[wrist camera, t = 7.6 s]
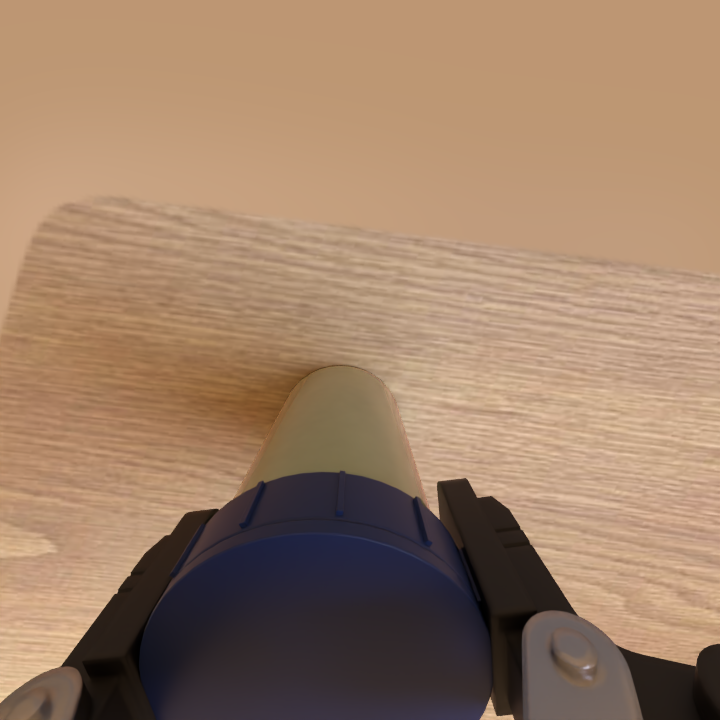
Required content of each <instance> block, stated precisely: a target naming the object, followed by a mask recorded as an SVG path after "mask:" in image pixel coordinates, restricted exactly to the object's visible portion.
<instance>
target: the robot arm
mask: <svg viewBox="0 0 720 720" xmlns="http://www.w3.org/2000/svg"><path fill="white" fill-rule="evenodd" d="M437 491H438V503H439V514H440V521H441V522H442V523H443V525H444V526H445V528H446V529H447V530H448V532H449V533H450V534H451V536H452V538H453V540H454V542H455V544H456V545H457V547H458V549H462V552H463V555H464V557H465V560H466V562H467V565H468V568H469V570H470V573H471V576H472V578H473V581H474V583H475V586H476V589H477V591H478V594H479V596H480V599H481V605H480V608H481V611H482V613H483V616H484V619H485V621H486V624H487V627H488V630H489V633H490V638H491V654H492V673H493V687H492V692H491V696H490V697H491V700H492V703H493V706H494V709H495V712H496V716H503V715H512V714H513V717H514V720H720V644H715V645H711V646H708V647H706V648H704V649H703V650H702V651H701V652H700V654H699V656H698V658H697V664H696V666H691V665H687V664H682V663H678V662H673V661H669V660H664V659H659V658H655V657H650V656H646V655H642V654H638V653H635V652H631V651H629V650H626V649H624V648H621V647H619V646H617V645H615V644H614V643H613V641H612V640H611V639H610V638H609V637H608V636H607V635H606V634H605V633H604V632H602V631H601V630H600V629H599V628H597V627H596V626H595V625H593V624H592V623H590V622H588V621H587V620H585V619H583V618H581V617H579V616H578V615H577V614H576V612H575V611H574V610H573V608H572V607H571V605H570V604H569V602H568V600H567V599H566V597H565V596H564V594H563V593H562V591H561V590H560V588H559V586H558V585H557V583H556V582H555V580H554V579H553V577H552V576H551V574H550V572H549V571H548V569H547V568H546V566H545V565H544V563H543V562H542V560H541V559H540V557H539V555H538V554H537V552H536V551H535V549H534V548H533V546H532V545H530V542H529V540H528V538H527V537H526V535H525V534H524V532H523V531H522V530H521V529H520V526H519V524H518V523H517V521H516V520H515V518H514V517H513V515H512V513H511V512H510V510H509V509H508V508H506V507H505V506H504V505H502V504H501V503H500V502H498V501H497V500H496V499H495V498H493V497H492V496H489V497H481V498H477V497H476V495H475V493H474V491H473V489H472V487H471V485H470V483H469V482H468V480H467V479H466V478H463V479H455V480H447V481H439V482H438V483H437ZM218 511H219V510H218V509H209V510H201V511H193V512H188V513H186V514H185V515H184V516H183V518H182V519H181V520H180V522H179V523H178V525H177V526H176V528H175V529H174V530H173V532H172V533H171V535H167V536H165V537H163V538H162V539H161V540H160V541H159V542H158V543H156V544H155V545H154V546H153V547H152V548H151V549H150V550H148V551H147V552H146V553H145V554H144V556H143V557H142V558H141V560H140V561H139V562H138V564H137V565H136V566H135V568H134V569H133V570H132V572H131V576H129V577H127V578H126V580H125V581H124V582H123V584H122V585H121V587H120V588H119V589H118V593H117V594H115V595H114V596H113V597H112V599H111V600H110V601H109V603H108V604H107V605H106V607H105V608H104V609H103V611H102V612H101V613H100V615H99V616H98V617H97V619H96V620H95V621H94V623H93V624H92V625H91V627H90V628H89V629H88V631H87V632H86V633H85V635H84V636H83V638H82V639H81V640H80V642H79V643H78V644H77V646H76V647H75V648H74V650H73V651H72V652H71V654H70V655H69V656H68V658H67V659H66V660H65V662H64V663H63V664H62V666H61V667H59V668H55V669H52V670H49V671H47V672H44V673H42V674H40V675H38V676H36V677H35V678H33V679H31V680H30V681H28V682H27V683H25V684H24V685H22V686H21V687H19V688H18V689H17V690H15V691H14V692H13V693H12V694H10V695H9V696H8V697H7V698H6V699H4V700H3V701H2V702H1V703H0V720H156V718H155V715H154V713H153V710H152V708H151V705H150V703H149V700H148V698H147V695H146V693H145V690H144V688H143V685H142V682H141V679H140V671H139V657H140V647H141V642H142V638H143V634H144V630H145V627H146V625H147V623H148V620H149V618H150V616H151V613H152V612H153V610H154V608H155V607H156V605H157V603H158V602H159V600H160V599H161V597H162V595H163V593H164V592H165V590H166V588H167V587H168V585H169V584H170V582H171V580H172V579H173V578H172V577H171V576H169V575H170V573H171V571H172V570H173V568H174V567H175V565H176V563H177V562H178V560H179V558H180V557H181V555H182V554H183V552H184V550H185V549H186V547H187V546H188V544H189V542H190V541H191V539H192V538H193V536H194V534H195V533H196V531H197V529H198V528H199V526H200V525H201V524H202V523H203V524H204V525H206V524H207V523H208V522H209V521H210V519H211V518H212V517H213V516H214V515H215V514H216V513H217V512H218Z"/></svg>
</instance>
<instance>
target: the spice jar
mask: <svg viewBox="0 0 720 720" xmlns="http://www.w3.org/2000/svg"><path fill="white" fill-rule="evenodd" d="M340 470H341V471H345V473H347V474H353V475H359V476H364V477H367V478H371V479H374V480H378V481H381V482H383V483H386V484H388V485H391V486H393V487H395V488H398V489H400V490H401V491H403V492H405V493H406V494H408V495H410V496H412V497H413V498H415V497H416V496H417V497H418V498H420V499H421V503H422V504H423V505H424V506H425V507H426V508H428V509H429V505H428V502H427V499H426V496H425V492H424V489H423V486H422V483H421V480H420V476H419V473H418V470H417V467H416V464H415V460H414V457H413V454H412V451H411V448H410V444H409V441H408V438H407V435H406V431H405V428H404V425H403V422H402V419H401V415H400V412H399V409H398V406H397V403H396V400H395V398H394V396H393V394H392V393H391V391H390V390H389V388H388V387H387V386H386V385H385V384H384V383H383V382H382V381H381V380H380V379H379V378H377V377H376V376H374V375H373V374H371V373H369V372H367V371H365V370H362V369H359V368H356V367H350V366H331V367H326V368H323V369H320V370H317V371H315V372H313V373H311V374H309V375H308V376H306V377H304V378H303V379H302V380H301V381H300V382H299V383H298V384H297V385H296V386H295V387H294V388H293V390H292V391H291V393H290V394H289V396H288V398H287V400H286V402H285V403H284V405H283V407H282V409H281V411H280V413H279V415H278V417H277V418H276V420H275V422H274V424H273V426H272V428H271V430H270V431H269V433H268V435H267V437H266V439H265V441H264V443H263V444H262V446H261V448H260V450H259V452H258V454H257V456H256V457H255V459H254V461H253V463H252V465H251V467H250V469H249V470H248V472H247V474H246V476H245V478H244V480H243V482H242V483H241V485H240V487H239V489H238V491H237V493H236V495H235V496H234V498H236V497H238V496H239V495H241V494H242V493H244V492H245V491H247V490H249V489H252V488H254V487H256V486H257V484H258V482H260V481H264V483H265V482H268V481H271V480H274V479H277V478H281V477H284V476H290V475H295V474H300V473H311V472H338V473H340ZM234 498H233V499H234ZM429 510H430V509H429Z"/></svg>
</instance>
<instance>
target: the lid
mask: <svg viewBox="0 0 720 720" xmlns="http://www.w3.org/2000/svg"><path fill="white" fill-rule="evenodd" d="M169 576H171V577H172V578H173V579H172V580H171V582H170V584H169V585H168V587H167V588H166V590H165V592H164V593H163V595H162V597H161V599H160V600H159V602H158V603H157V605H156V607H155V608H154V610H153V612H152V613H151V616H150V618H149V620H148V623H147V625H146V627H145V630H144V634H143V638H142V642H141V647H140V657H139V671H140V679H141V682H142V685H143V688H144V690H145V693H146V695H147V698H148V700H149V703H150V705H151V708H152V710H153V713H154V715H155V718H156V720H480V718H481V716H482V715H483V713H484V711H485V709H486V706H487V704H488V701H489V698H490V696H491V692H492V687H493V673H492V654H491V638H490V633H489V630H488V627H487V624H486V621H485V619H484V616H483V613H482V611H481V608H480V605H481V599H480V596H479V594H478V591H477V589H476V586H475V583H474V581H473V578H472V576H471V573H470V570H469V568H468V565H467V562H466V560H465V557H464V555H463V552H462V549H458V547H457V545H456V544H455V542H454V540H453V538H452V536H451V534H450V533H449V532H448V530H447V529H446V528H445V526H444V525H443V523H442V522H441V521H440V520H439V519H438V518H437V517H436V516H435V515H434V514H433V513H432V512H431V511H430V510H429V509H428V508H426V507H425V506H424V505H423V504H422V503H421V499H420V498H418V497H417V496H416V497H415V498H413V497H412V496H410V495H408V494H406V493H405V492H403V491H401V490H400V489H398V488H395V487H393V486H391V485H388V484H386V483H383V482H381V481H378V480H374V479H371V478H367V477H364V476H359V475H353V474H347V473H345V471H341V470H340V473H338V472H311V473H300V474H295V475H290V476H284V477H281V478H277V479H274V480H271V481H268V482H265V483H264V481H260V482H258V484H257V486H256V487H254V488H252V489H249V490H247V491H245V492H244V493H242V494H241V495H239V496H238V497H236V498H234V499H233V500H231V501H230V502H229V503H227V504H226V505H225V506H224V507H223V508H221V509H220V510H219V511H218V512H217V513H216V514H215V515H214V516H213V517H212V518H211V519H210V521H209V522H208V523H207V524H206V525H204V524H203V523H202V524H201V525H200V526H199V528H198V529H197V531H196V533H195V534H194V536H193V538H192V539H191V541H190V542H189V544H188V546H187V547H186V549H185V550H184V552H183V554H182V555H181V557H180V558H179V560H178V562H177V563H176V565H175V567H174V568H173V570H172V571H171V573H170V575H169Z"/></svg>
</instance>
